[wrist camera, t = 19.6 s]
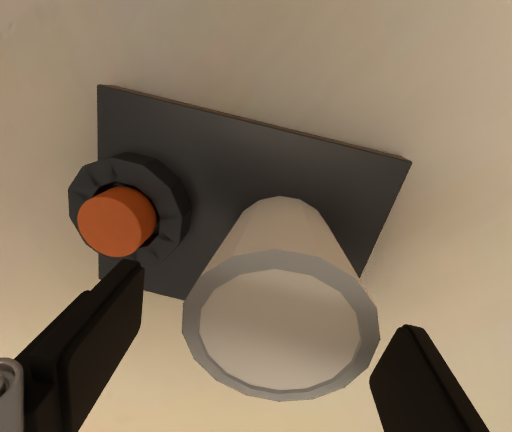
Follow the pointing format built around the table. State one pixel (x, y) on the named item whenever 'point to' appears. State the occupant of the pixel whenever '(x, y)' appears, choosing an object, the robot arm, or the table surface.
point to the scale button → (117, 221)
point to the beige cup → (281, 307)
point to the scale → (226, 181)
